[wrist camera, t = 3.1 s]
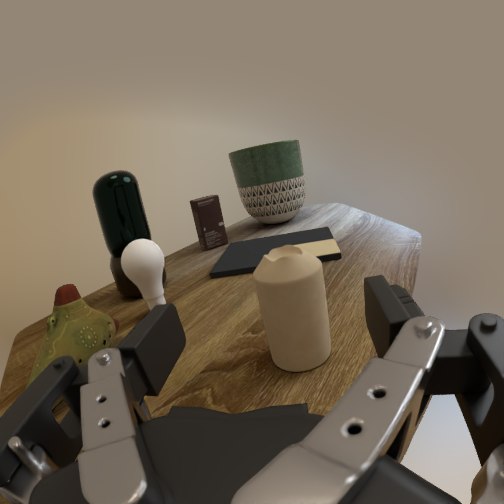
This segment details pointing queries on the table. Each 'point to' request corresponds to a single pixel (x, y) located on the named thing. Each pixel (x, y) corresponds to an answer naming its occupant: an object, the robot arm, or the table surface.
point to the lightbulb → (145, 269)
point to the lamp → (121, 222)
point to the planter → (270, 180)
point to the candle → (294, 308)
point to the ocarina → (73, 332)
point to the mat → (252, 251)
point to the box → (209, 221)
